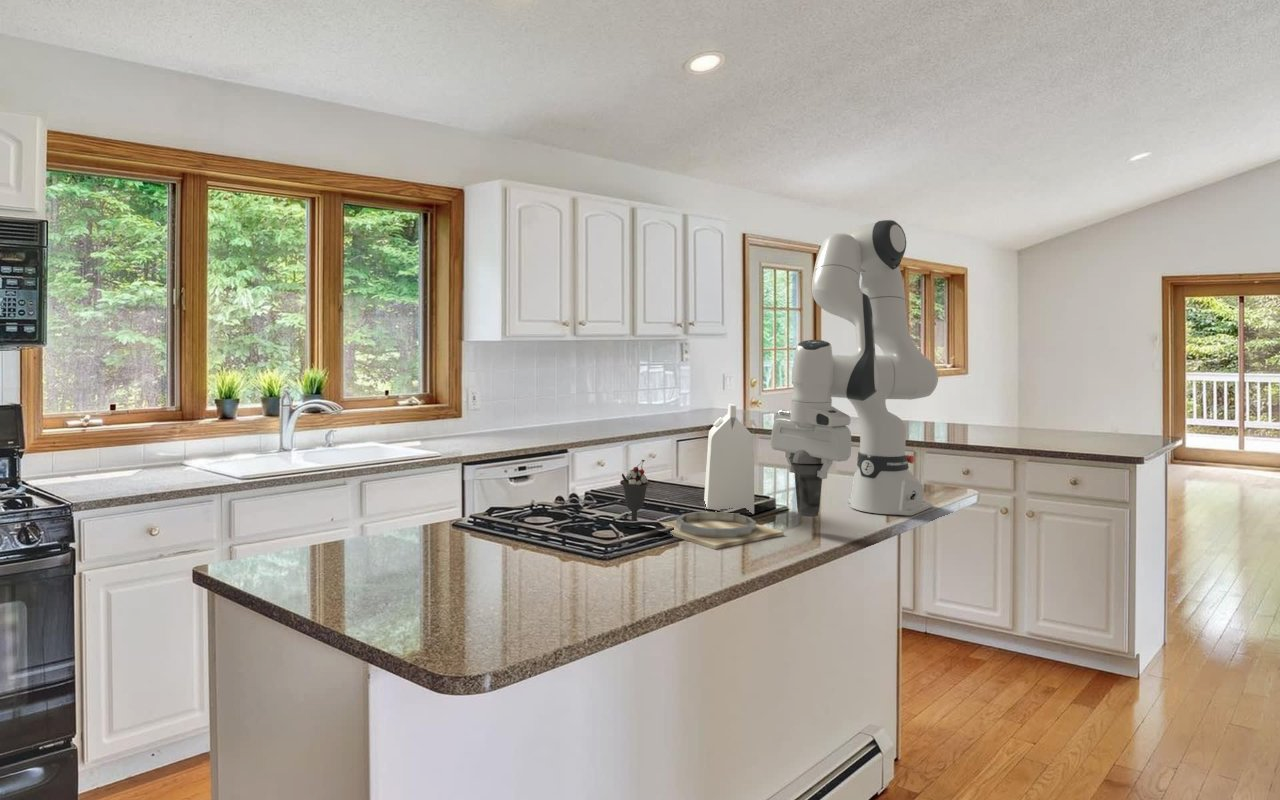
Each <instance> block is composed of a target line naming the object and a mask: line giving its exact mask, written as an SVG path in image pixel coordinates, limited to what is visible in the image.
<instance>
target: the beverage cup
mask: <svg viewBox="0 0 1280 800" xmlns="http://www.w3.org/2000/svg"><path fill="white" fill-rule="evenodd" d="M792 464H793V470H794V473H793V474H794V482H795V483H794V485H795V496H796V497H795V498H796V499H795V500H796V508H797V516H799V517H809V518H811V517H813V518H814V517H819V511H820V506H821V505H820V504H821V494H822V484H823V479H820V478H817V470H821V468H822V466H823V464H822V463H821V458H816V457H812V456H810V455H809V454H808V453H807V452H806V451H805V450H799V451H797V452H796V453H795V455H794V457H793V462H792Z"/></svg>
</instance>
